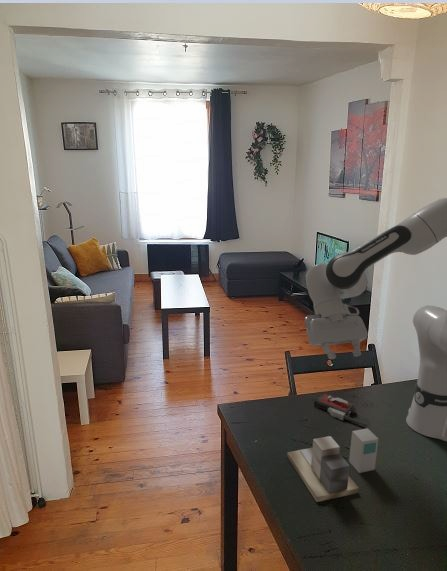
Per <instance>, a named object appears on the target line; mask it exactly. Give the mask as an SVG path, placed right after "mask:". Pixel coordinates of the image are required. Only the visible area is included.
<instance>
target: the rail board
mask: <svg viewBox="0 0 447 571" xmlns="http://www.w3.org/2000/svg"><path fill="white" fill-rule="evenodd" d="M312 440H313V441H312V447H309V448H308V447H307V448H302V449H298V450H293V451H287V453H286V457H287V459H288V460H289V463H291V465H292V467H293V468H294V470H295V472H296V473H297V474H298V476H299V478H300V479H301V480H302V482H303V483H304V484H305V486H306V488H307V489H308V491H309V492H310V494H311V496H312V497H313V499H314V500H315V502H316V503H318V502H324V501H329V500H333V499H337V498H343V497H346V496H352V495H355V494H358V493H359V490H360V488H359V487H358V485H357V484H356V482H354V480H353V479H352V478H351V477H350V469H351V468H350V467H351V466H350V464H349V463H348V462H347V461H346V459H345V458H344V457H343V456H342V455H341V454H340V450H341V449H340V448H341V446H340V445H339V444H338V443H337V442H336V440H334V438H333V437H332V436H329V435H327V436H324V437H323V436H322V437H318V438H313V439H312Z"/></svg>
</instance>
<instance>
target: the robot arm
mask: <svg viewBox="0 0 447 571" xmlns="http://www.w3.org/2000/svg"><path fill="white" fill-rule="evenodd" d="M446 237H447V197H443V198H442V197H441V198H439V199H437V200H435V201H432V202H431V203H429V204H427V205H426V206H423V207H422V208H420V209H418V210H417V211H416V212H414V213H413V214H411V215H409V216H408V217H407V218H406V219H404V220H403V221H401V222H400V223H398V224H396V225H395V226H392V227H390V228H389V229H387V230H385V231H384V232H381V233H380V234H378V235H377V236H374V237H373V238H372V239H370V240H368V241H367V242H365V243H363V244H362V245H359V246H358V247H357V248H355V249H352V250H350V251H345V252H342V253H338V254H337V255H334V256H333V257H332V258H330V260H329V261H328V262H327V263H322V262H321V263H317V264H315V265H313V266H311V267H310V268H309V269H308V270H307V271H306V273H305V284H306V289H307V292H308V295H309V297H310V299H311V301H312V304H313V310H314V314H308V315H306V317H305V318H304V325H305V327H306V328H305V329H306V330H305V331H306V335H307V340H308V342H309V344H310V345H311V346H312V347H317V346H320V347H321V349H322V351H323V352H324V353H325V354H326V355H327V358H328V359H329V360H334V359H336V358H337V355H336V351H333V350H332V349H331V348H330V347H331V345H338V344H340V345H341V344H348V343H349V344H351V345H352V346H353V350H352V351H351V352H352V354H353V357H360V356H361V355H362V352H361V350H360V349H361V348H360V347H361V342H363V341H364V340H366V339H368V329H367V327H366V325H365V323H364V321H363V319H362V317H361V316H360V310H359V309H358V308H357V307H354V306H351V305H348V304H346V303H343V301H342V300H345V299H352V298H356V297H359V296H361V295H362V294H364V292H365V291H366V289H367V287H368V278H367V276H366V273H365V272H366V271H367V269H368V268H370V267H371V266H373V265H375V264H376V263H378V262H379V261H381V260H383V259H384V258H386V257H388V256H389V255H391V254H394V253H404V254H405V255H406V254H407V255H411V256H412V255H413V256H416V255H419V254H421V253H423V252H425V251H427V250H429V249H431V248H432V247H434V246H435V245H436V244H438V243H440V242H441V241H443V239H445V238H446ZM412 323H413V326H414V328H415V331H416V335H417V342H418V351H419V366H418V375H417V380H416V382H415V384H414V385H415V386H414V392H413V398H412V402H411V405H410V407H409V408H408V411H407V412H408V413H407V416H406V417H405V418H406V419H405V421H406V424H407V425H408V426H409V427H410V429H412V430H413V431H415V432H416V433H418V434H420V435H423V436H425V437H429V438H433V439H437V440H441V441H444V442H447V309H445V308H442V307H439V306H435V305H424V306H421V307H419V309H417V310H416V311H415V313H414V315H413V319H412Z"/></svg>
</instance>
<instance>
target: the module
mask: <svg viewBox="0 0 447 571" xmlns="http://www.w3.org/2000/svg"><path fill="white" fill-rule="evenodd" d="M378 444H379V438H378V437H377V436H376V435H375V433H373V432H372V431H371V430H370V429H369V428H363V429H356V430H352V431H351V441H350V448H349V449H350V451H349V457H348V458H349V459H348V462H349V463H350V464H351V466H352V467H353V468H354V469H355V470H356V471H357V472H358V474H361V473H365V472H370V471H374V470H375V469H376V464H377V463H376V460H377V454H378Z"/></svg>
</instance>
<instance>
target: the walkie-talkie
mask: <svg viewBox="0 0 447 571" xmlns="http://www.w3.org/2000/svg"><path fill="white" fill-rule="evenodd" d="M313 405H314V406H315V407H317V408H318V409H319V408H320V409H322V410H324V411H326V410H327V411H326V412H327V413H329V415H330V416H332V417H334V418H336V419H338V420H341V421H344V420H346V421H350V422H352V423H354V424H357V425H361V426H364V427H368V423H365V422H363V421H361V420H357V419H355V418H352V417H350V415H351V414H355V411H356V408H355V404H354V403H350V402H349V401H348V400H346V399H343V398H342V397H341V398H340V397H335V396H333V395H329V394H326V393H323V394H322V395H320V397H318V398H317V401H313Z"/></svg>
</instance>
